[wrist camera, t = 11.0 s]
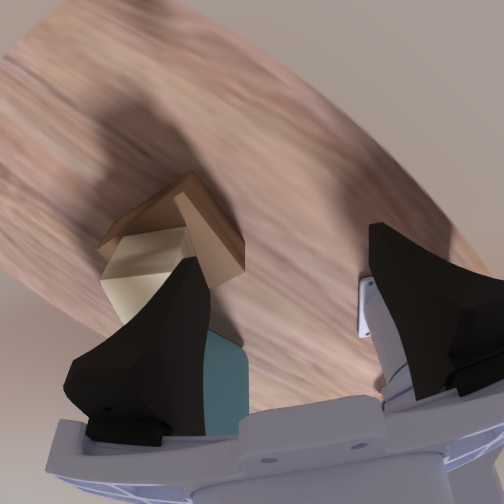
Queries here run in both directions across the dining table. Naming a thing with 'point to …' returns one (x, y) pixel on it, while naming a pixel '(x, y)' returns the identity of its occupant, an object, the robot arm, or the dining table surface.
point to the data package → (224, 386)
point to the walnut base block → (198, 225)
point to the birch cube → (143, 268)
